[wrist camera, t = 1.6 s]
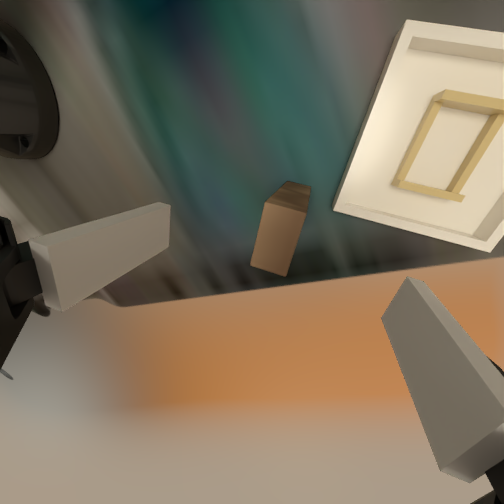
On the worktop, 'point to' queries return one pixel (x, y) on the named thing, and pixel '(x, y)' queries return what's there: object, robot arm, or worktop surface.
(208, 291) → the worktop surface
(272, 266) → the wooden wedge
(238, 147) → the worktop surface
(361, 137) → the candle dish
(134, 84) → the worktop surface
